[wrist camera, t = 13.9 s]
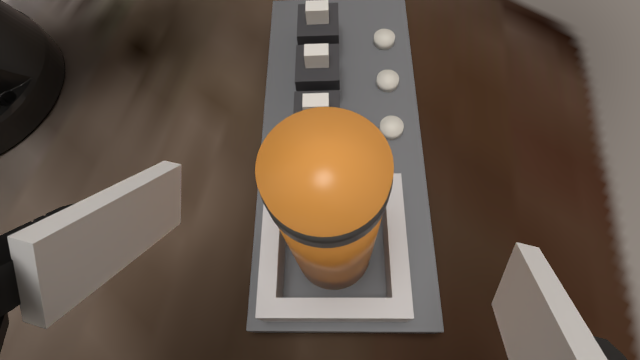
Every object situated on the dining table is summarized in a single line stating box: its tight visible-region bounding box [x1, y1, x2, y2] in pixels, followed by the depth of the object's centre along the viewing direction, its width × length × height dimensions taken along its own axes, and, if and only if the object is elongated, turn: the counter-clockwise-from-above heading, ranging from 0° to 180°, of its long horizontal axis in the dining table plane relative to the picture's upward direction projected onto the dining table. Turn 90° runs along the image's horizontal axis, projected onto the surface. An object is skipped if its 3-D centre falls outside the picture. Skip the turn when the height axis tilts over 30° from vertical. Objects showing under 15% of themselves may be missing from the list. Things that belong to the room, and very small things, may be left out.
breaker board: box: [246, 0, 444, 333], centre depth 26 cm, size 26×11×6 cm, turn 0°
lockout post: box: [255, 107, 394, 290], centre depth 17 cm, size 4×4×12 cm
